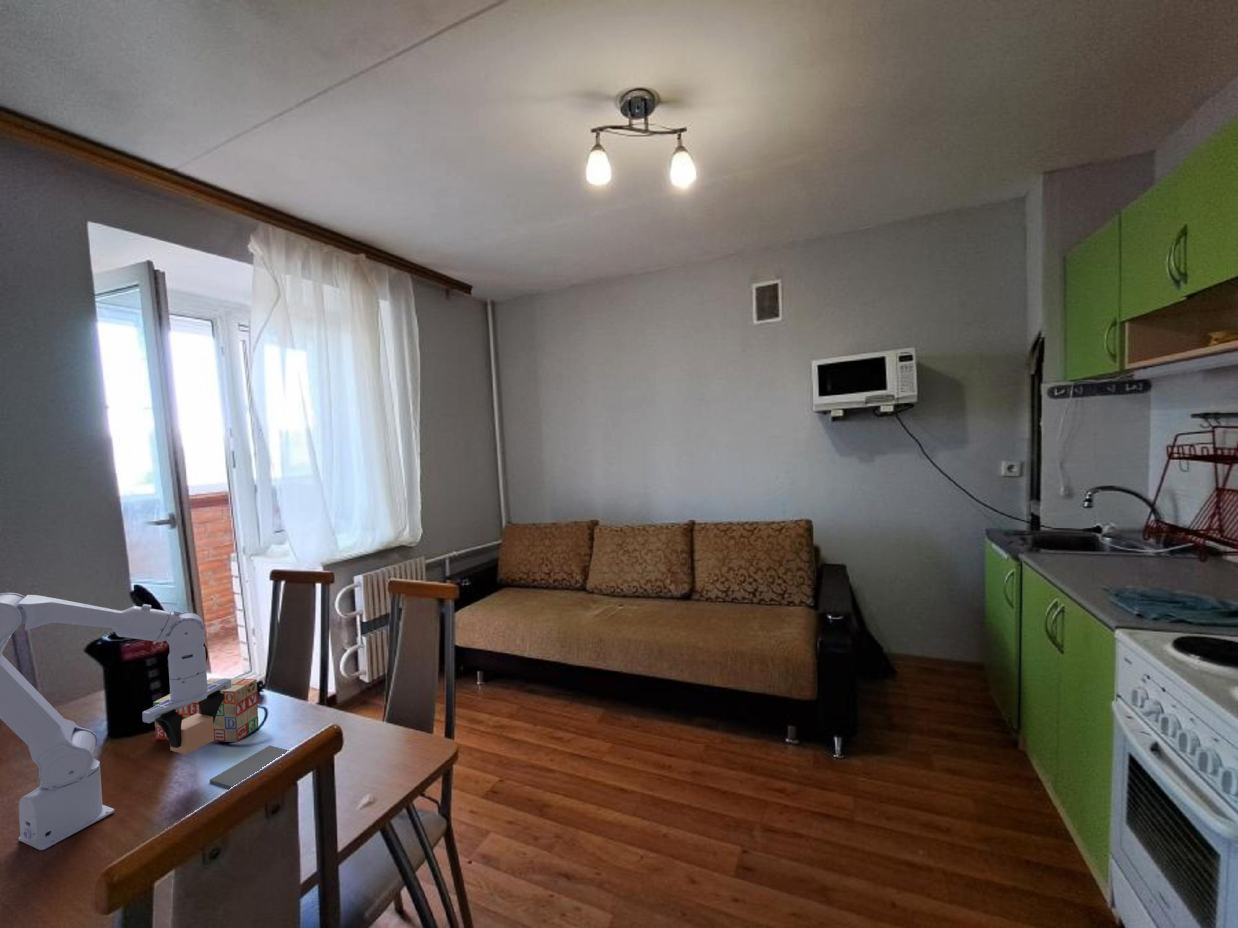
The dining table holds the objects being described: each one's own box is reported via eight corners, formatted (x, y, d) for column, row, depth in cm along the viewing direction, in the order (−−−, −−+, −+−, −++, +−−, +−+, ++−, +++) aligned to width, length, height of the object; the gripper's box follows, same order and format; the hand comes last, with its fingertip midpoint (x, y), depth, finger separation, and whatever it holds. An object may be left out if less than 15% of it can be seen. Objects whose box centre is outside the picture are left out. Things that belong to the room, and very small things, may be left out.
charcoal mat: (249, 794, 94) (249, 791, 94) (209, 782, 98) (209, 779, 98) (307, 757, 105) (307, 754, 105) (269, 747, 110) (269, 745, 110)
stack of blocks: (154, 740, 114) (151, 689, 114) (180, 725, 121) (178, 677, 120) (237, 742, 112) (234, 690, 112) (259, 726, 119) (257, 677, 118)
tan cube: (186, 754, 96) (184, 729, 96) (170, 750, 98) (168, 725, 98) (214, 740, 101) (212, 716, 101) (198, 736, 103) (197, 713, 103)
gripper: (156, 692, 91) (161, 763, 91) (239, 660, 105) (242, 722, 105) (134, 688, 93) (138, 756, 94) (217, 657, 107) (221, 717, 107)
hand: (192, 738), depth 100 cm, fingers closed on tan cube, 5 cm apart
